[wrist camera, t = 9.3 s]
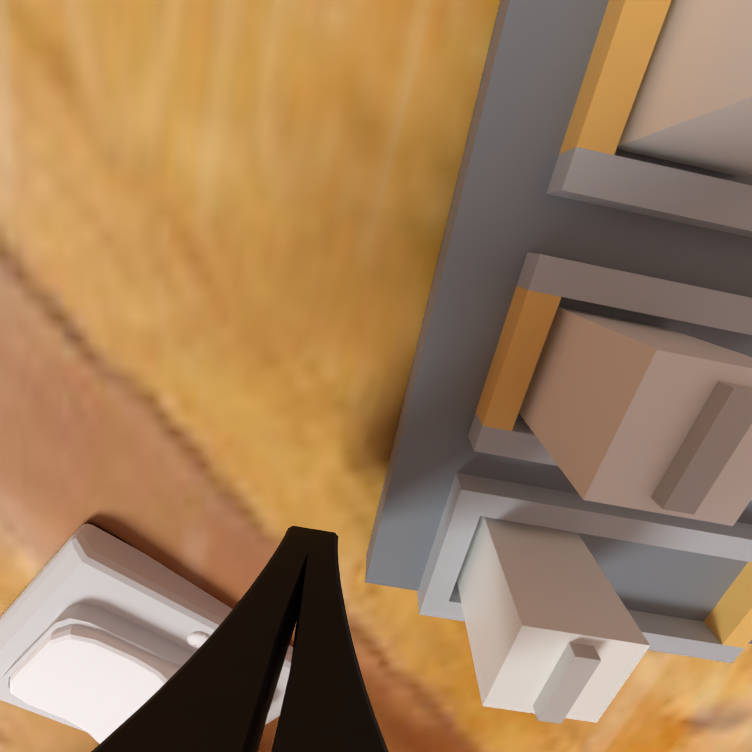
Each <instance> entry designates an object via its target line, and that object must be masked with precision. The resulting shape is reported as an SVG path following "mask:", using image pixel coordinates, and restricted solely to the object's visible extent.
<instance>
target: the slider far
mask: <svg viewBox="0 0 752 752" xmlns="http://www.w3.org/2000/svg"><path fill="white" fill-rule="evenodd" d="M457 584H458V589H459V594H460V599H461V604H462V609H463V613H464V618H465V623H466V628H467V633H468V638H469V643H470V647H471V652H472V657H473V662H474V667H475V672H476V676H477V681H478V686H479V691H480V696H481V701H482V705H483V706H486V707H493V708H500V709H507V710H514V711H520V712H527V713H534V714H536V718H537V720H538V721H545V722H552V723H559V724H561V723H562V722H563V720H564V719H565V718H569V719H576V720H582V721H589V722H596V723H597V722H598V720H599V719H600V717H601V716H602V714H603V713H604V711H605V710H606V709H607V707H608V706H609V704H610V703H611V701H612V700H613V698H614V697H615V696H616V694H617V693H618V691H619V690H620V688H621V687H622V685H623V684H624V683H625V681H626V680H627V678H628V677H629V675H630V674H631V672H632V671H633V670H634V668H635V667H636V665H637V664H638V662H639V661H640V660H641V658H642V657H643V655H644V654H645V652H646V651H647V649H648V648H649V647H650V644H649V643H648V641H647V640H646V638H645V637H644V635H643V634H642V632H641V630H640V629H639V627H638V626H637V624H636V623H635V621H634V620H633V618H632V616H631V615H630V613H629V612H628V610H627V609H626V607H625V606H624V604H623V602H622V601H621V599H620V598H619V596H618V595H617V593H616V592H615V590H614V588H613V587H612V585H611V584H610V582H609V581H608V579H607V578H606V576H605V574H604V573H603V571H602V570H601V568H600V567H599V565H598V564H597V562H596V560H595V559H594V557H593V556H592V554H591V553H590V551H589V550H588V548H587V546H586V545H585V543H584V542H583V540H582V539H581V537H580V536H579V534H578V533H577V532H571V531H565V530H559V529H553V528H547V527H542V526H536V525H530V524H524V523H518V522H512V521H506V520H500V519H495V518H489V517H483V516H480V518H479V521H478V524H477V526H476V529H475V532H474V534H473V537H472V540H471V542H470V545H469V548H468V551H467V553H466V556H465V559H464V561H463V564H462V567H461V569H460V572H459V575H458V578H457Z"/></svg>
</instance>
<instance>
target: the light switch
mask: <svg viewBox="0 0 752 752" xmlns="http://www.w3.org/2000/svg"><path fill="white" fill-rule="evenodd" d="M232 610H233V609H232V608H230V607H228V606H227V605H225V604H224V603H222V602H221V601H219V600H217V599H216V598H214V597H213V596H211V595H209V594H208V593H206V592H205V591H203V590H202V589H200V588H198V587H197V586H195V585H194V584H192V583H190V582H189V581H187V580H186V579H184V578H183V577H181V576H179V575H178V574H176V573H175V572H173V571H171V570H170V569H168V568H167V567H165V566H164V565H162V564H160V563H159V562H157V561H156V560H154V559H152V558H151V557H149V556H148V555H146V554H144V553H143V552H141V551H139V550H137V549H135V548H134V547H132V546H130V545H128V544H126V543H125V542H123V541H121V540H119V539H117V538H115V537H114V536H112V535H110V534H108V533H106V532H105V531H103V530H101V529H99V528H97V527H95V526H94V525H90V524H84V525H82V526H81V527H80V528H79V529H78V530H77V531H76V532H75V533H74V534H73V535H72V537H71V538H70V539H69V540H68V541H67V542H66V543H65V544H64V546H63V547H62V548H61V549H60V550H59V551H58V552H57V554H56V555H55V556H54V557H53V558H52V559H51V560H50V562H49V563H48V564H47V565H46V566H45V567H44V568H43V570H42V571H41V572H40V573H39V574H38V575H37V576H36V577H35V579H34V580H33V581H32V582H31V583H30V584H29V585H28V587H27V588H26V589H25V590H24V591H23V592H22V593H21V595H20V596H19V597H18V598H17V599H16V600H15V601H14V603H13V604H12V605H11V606H10V607H9V608H8V609H7V610H6V612H5V613H4V614H3V615H2V616H1V617H0V700H2V701H5V702H7V703H10V704H13V705H15V706H18V707H21V708H23V709H26V710H29V711H31V712H34V713H37V714H39V715H42V716H45V717H47V718H50V719H53V720H55V721H58V722H61V723H63V724H66V725H69V726H71V727H74V728H77V729H80V730H82V731H85V732H88V733H89V734H90V735H91V736H92V737H93V738H94V739H95V740H96V741H97V742H98V743H99V744H100V743H102V742H103V741H104V740H105V739H106V738H107V737H108V736H109V735H110V734H112V733H113V732H114V731H115V730H116V729H117V728H118V727H119V726H120V725H121V724H123V723H124V722H125V721H126V720H127V719H128V718H129V717H130V716H131V715H132V714H134V713H135V712H136V711H137V710H138V709H139V708H140V707H141V706H142V705H143V704H144V703H145V702H146V701H148V700H149V699H150V698H151V697H152V696H153V695H154V694H155V693H156V692H157V691H158V690H159V689H160V688H161V687H162V686H163V685H164V684H165V683H166V682H167V681H168V680H169V679H170V678H171V677H172V676H173V675H174V674H175V673H176V672H177V671H178V670H179V669H180V668H181V667H182V666H183V665H184V664H185V663H186V662H187V661H188V660H189V658H190V657H191V656H192V655H193V654H194V653H195V652H196V651H197V650H198V649H199V648H200V647H201V646H202V644H203V643H204V642H205V641H206V640H207V639H208V638H209V637H210V636H211V635H212V633H213V632H214V631H215V630H216V629H217V628H218V626H219V625H220V624H221V623H222V622H223V621H224V619H225V618H226V617H227V616H228V615H229V613H230V612H231V611H232ZM292 651H293V647H292V646H290V645H289V647H288V651H287V654H286V657H285V660H284V664H283V667H282V670H281V673H280V677H279V680H278V683H277V687H276V690H275V693H274V696H273V700H272V703H271V706H270V709H269V713H268V716H267V719H266V723H265V725H266V724H268V723H269V722H271V721H272V720H274V719H275V718H277V717H279V716H280V712H281V708H282V703H283V699H284V695H285V690H286V686H287V681H288V677H289V672H290V666H291V659H292Z"/></svg>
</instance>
